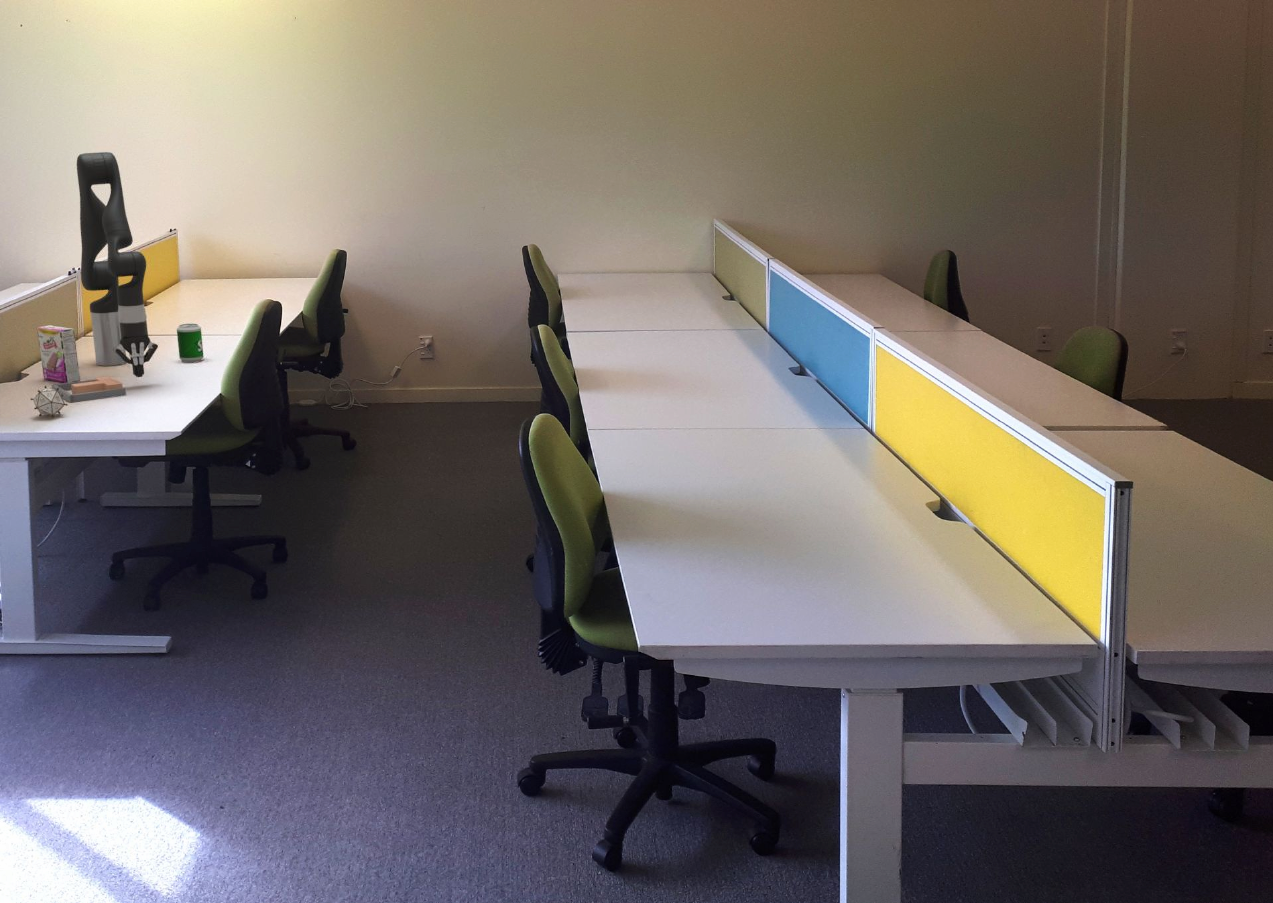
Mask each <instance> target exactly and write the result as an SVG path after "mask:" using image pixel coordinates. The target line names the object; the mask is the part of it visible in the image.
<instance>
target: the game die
mask: <svg viewBox="0 0 1273 903" xmlns="http://www.w3.org/2000/svg"><path fill="white" fill-rule="evenodd" d="M58 390H59V388H57V390H54V389H52V388H48V387H47V386H46V385H44V389H42V390H39V389H37V394H36V395H35V397H33V398H32V397H31V398H30V400H31V401H33V402H34V405H35V407H34V408H33V410H34V411H35V410H37V411H38V412H39V415H38V416H39V417H41V416H42V415H47V416H50V417H51V419H54V418H55V416H54V415H56V414H57V413H58V414H61V412H60V411H61V410H62V409H63V407H65V406H68V405H69V404H68V403H65V401H64V399H63V398H62V397H63V396H64V395H63V394H62V395H60V393H59V392H58Z"/></svg>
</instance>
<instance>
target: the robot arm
mask: <svg viewBox="0 0 1273 903" xmlns="http://www.w3.org/2000/svg"><path fill="white" fill-rule="evenodd" d="M76 173H77V184H78V190H79V207H80V208H79V228H80V229H79V230H80V237H81V238H80V241H81V242H80V243H81V262H80V279H81V284H82V287H83V288H84V289H85V290H86V291H92V292H95V291H107V293H106V294H105V295H103V296H102V297H101V298H99V299H96V300H94V301H92V302H90V304H89V312H90V320H91V328H92V329H91V330H92V336H93V347H94V353H95V354H94V355H95V363H96V365H97V366H103V367H104V366H107V367H108V366H110V367H111V366H119V364H120V365H123V364H129V365H131V367H132V374H133V375H134V376H135V377H136V378H142V377H143V376H144V374H145V368H144V364H145V363H148V362H149V361H150V360H151V359H152V358H153V356H154V354H155V352H156V351H157V349H158V347H159V344H157V343H155V342H153V341H151V339H150V337H149V332H148V322H147V319H148V318H147V313H146V309H145V308H146V307H145V304H144V303H145V302H144V301H145V300H144V292H143V291H144V290H143V289H144V288H143V287H144V280H145V275H146V270H147V259H146V258H145V255H144V254H143V253H142V252H140V251H121V252H119V251H120V250H123V249H125V248H128V247H130V246H131V245H132V244H133V241H134V240H133V236H132V232H131V228H130V225H129V221H128V218H127V213H126V207H125V206H126V205H125V200H124V199H125V198H124V192H123V191H124V190H123V185H122V179H121V173H120V169H119V164H118V161H117V158H116V156H115V155H114V154H113V152H108V151H101V152H89V153H87V152H85V153H81V154H79V155H77V158H76ZM108 184H109V185H110V186H109V187H110V193H109V198H108V200H107V204H106V205H105V203H104V202H103V201H102V200H101V199H100V198H99V197H98V196H97V195H96V193H95V192H94V190H93V188H92V186H95V185H96V186H98V185H108ZM106 246H107V260H100V261H96V258H97V257H98V255H99V254H100V252H102V250H104V248H105V247H106ZM124 277H132V278H131V279H130V281H129V282H127V283H123V284H120V285H119V283H120V282H119V280H120V279H119V278H124ZM147 348H148V349H147ZM146 349H147V350H146ZM127 353H128V356H129V357H130V358H129V357H128V356H127Z"/></svg>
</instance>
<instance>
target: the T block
mask: <svg viewBox="0 0 1273 903" xmlns="http://www.w3.org/2000/svg"><path fill="white" fill-rule="evenodd" d="M94 379H95V380H96V381H93V382H85V383H78V384H71V388H72V390H71V395H73V394H81V393H88V392H96V391H103V390H111V389H118V388H124V387H123V383H122V382H120V381H118V380H116V379H114V378H112V377H111V376H102V377H97V378H94Z"/></svg>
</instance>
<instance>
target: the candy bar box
mask: <svg viewBox="0 0 1273 903" xmlns="http://www.w3.org/2000/svg"><path fill="white" fill-rule="evenodd" d="M36 330H37V337H38V345H39V350H40V359H41V366H42V375H43V379H44V380H46V381H53V382H58V383H61V384H62V383H70V382H77V381H81V377H80V367H79V363H78V362H79V361H78V360H79V359H78V352H77V345H76V344H77V343H76V337H75V331H74V330H75V329H74V328H71V327H64V326H58V325H56V326H55V325H50V324H49V325H44V326H39V327H37V328H36Z"/></svg>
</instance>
